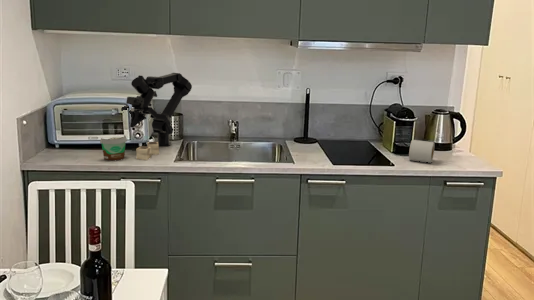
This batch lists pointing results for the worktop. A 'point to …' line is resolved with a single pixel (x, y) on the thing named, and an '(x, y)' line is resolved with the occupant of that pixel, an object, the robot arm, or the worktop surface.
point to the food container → (113, 148)
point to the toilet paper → (421, 151)
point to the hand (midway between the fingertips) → (131, 127)
